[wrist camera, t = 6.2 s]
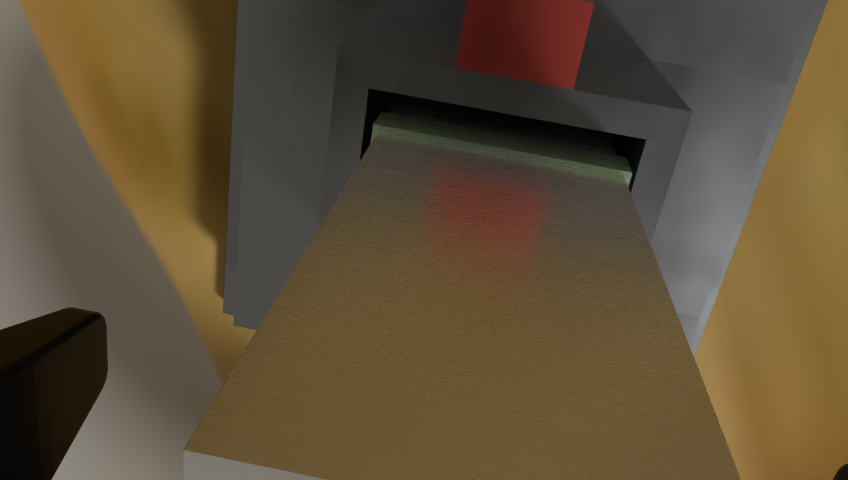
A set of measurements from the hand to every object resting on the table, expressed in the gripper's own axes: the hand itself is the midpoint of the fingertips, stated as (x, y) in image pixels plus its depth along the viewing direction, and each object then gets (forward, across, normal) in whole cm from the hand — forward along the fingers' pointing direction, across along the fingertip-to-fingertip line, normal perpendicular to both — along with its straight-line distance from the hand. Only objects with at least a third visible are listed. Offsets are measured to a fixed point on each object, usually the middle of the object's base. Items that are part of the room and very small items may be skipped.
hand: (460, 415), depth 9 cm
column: (+8, 0, 0) cm, 8 cm away
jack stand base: (+12, 0, 0) cm, 12 cm away
